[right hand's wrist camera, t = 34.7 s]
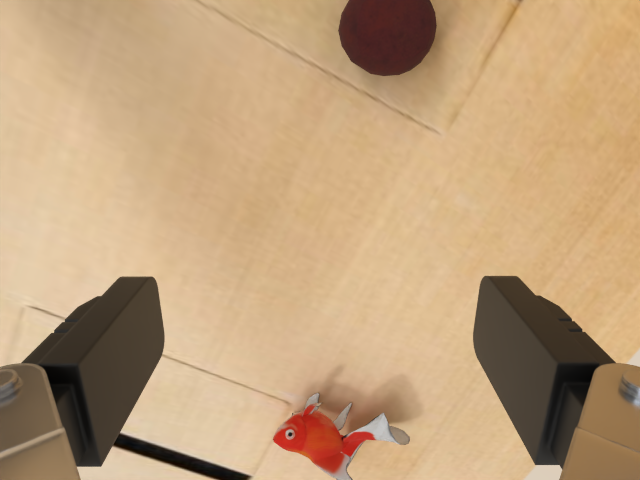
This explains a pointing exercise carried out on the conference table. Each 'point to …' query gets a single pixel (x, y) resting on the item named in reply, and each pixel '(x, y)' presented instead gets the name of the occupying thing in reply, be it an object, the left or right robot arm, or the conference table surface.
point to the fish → (331, 437)
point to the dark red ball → (387, 34)
